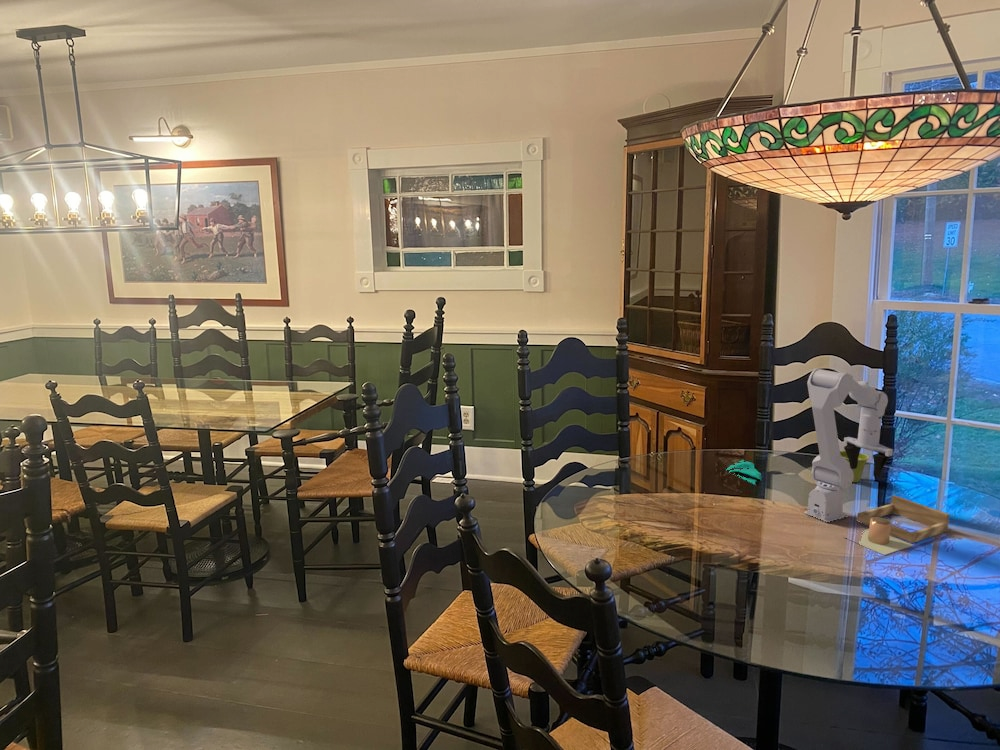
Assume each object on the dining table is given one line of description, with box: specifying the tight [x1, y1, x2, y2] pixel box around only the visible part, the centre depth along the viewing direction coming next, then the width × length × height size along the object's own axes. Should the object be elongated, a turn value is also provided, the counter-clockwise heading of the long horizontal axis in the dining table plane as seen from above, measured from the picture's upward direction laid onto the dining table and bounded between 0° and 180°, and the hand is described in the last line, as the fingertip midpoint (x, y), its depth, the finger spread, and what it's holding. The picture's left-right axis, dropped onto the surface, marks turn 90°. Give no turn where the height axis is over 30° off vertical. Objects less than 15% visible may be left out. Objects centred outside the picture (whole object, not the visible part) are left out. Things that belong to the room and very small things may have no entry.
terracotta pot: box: [868, 517, 893, 545], centre depth 184 cm, size 5×5×6 cm
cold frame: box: [856, 494, 951, 544], centre depth 194 cm, size 16×16×5 cm
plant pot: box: [840, 450, 869, 484], centre depth 230 cm, size 9×9×9 cm
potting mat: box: [858, 528, 914, 556], centre depth 185 cm, size 12×12×1 cm
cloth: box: [725, 459, 763, 486], centre depth 239 cm, size 26×14×2 cm, turn 158°
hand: (864, 472), depth 211 cm, fingers open, 7 cm apart
